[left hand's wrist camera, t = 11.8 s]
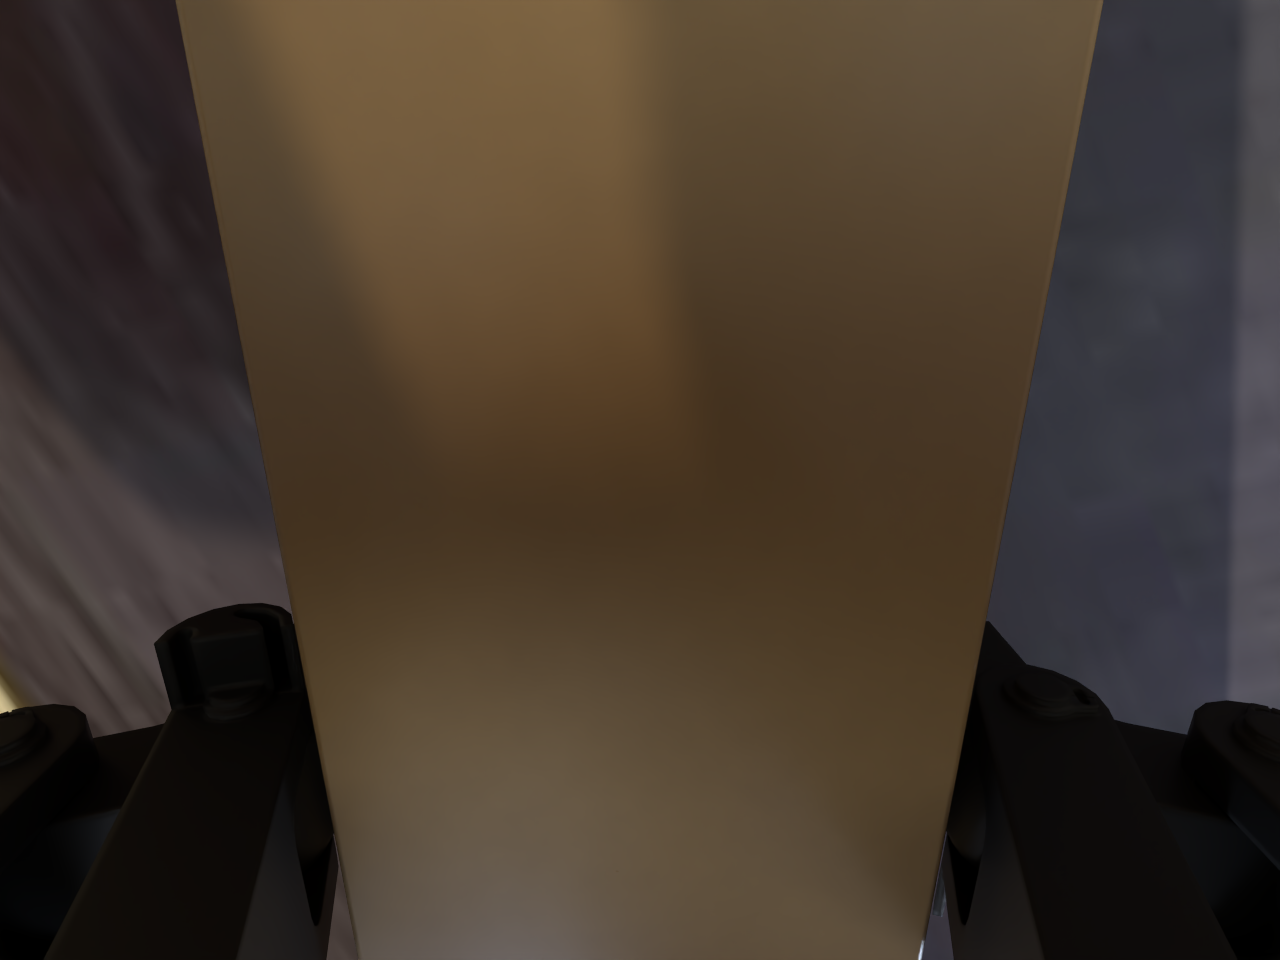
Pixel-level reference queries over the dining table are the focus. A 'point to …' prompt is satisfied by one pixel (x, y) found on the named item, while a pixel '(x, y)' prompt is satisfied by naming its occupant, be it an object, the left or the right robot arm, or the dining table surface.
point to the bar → (639, 440)
